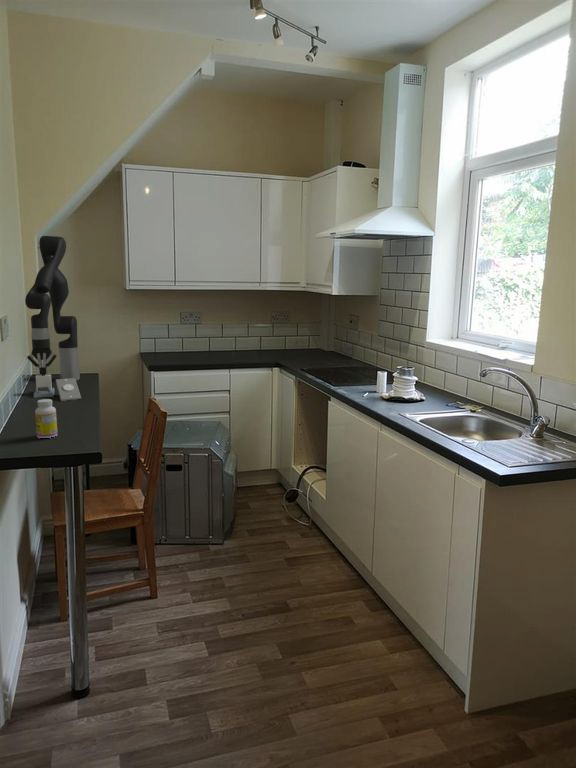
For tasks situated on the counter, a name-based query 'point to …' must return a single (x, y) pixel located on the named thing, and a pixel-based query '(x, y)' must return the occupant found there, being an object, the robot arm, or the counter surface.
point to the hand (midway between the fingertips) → (43, 375)
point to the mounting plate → (50, 394)
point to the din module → (43, 381)
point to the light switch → (68, 389)
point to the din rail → (43, 390)
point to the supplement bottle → (46, 419)
